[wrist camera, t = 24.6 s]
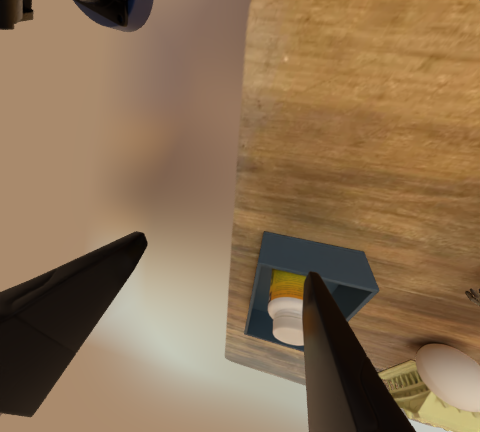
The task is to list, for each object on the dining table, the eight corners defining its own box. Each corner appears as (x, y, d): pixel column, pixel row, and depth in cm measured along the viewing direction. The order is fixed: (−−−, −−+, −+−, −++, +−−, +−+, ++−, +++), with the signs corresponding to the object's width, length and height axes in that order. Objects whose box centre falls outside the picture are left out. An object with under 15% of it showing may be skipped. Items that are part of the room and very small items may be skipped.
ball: (483, 345, 28) (535, 419, 22) (440, 358, 34) (473, 422, 27) (429, 329, 29) (465, 396, 23) (395, 345, 34) (417, 403, 28)
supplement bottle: (269, 248, 26) (258, 321, 18) (309, 244, 24) (317, 326, 16) (278, 272, 29) (272, 345, 21) (315, 271, 27) (324, 352, 19)
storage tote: (264, 231, 25) (257, 262, 21) (364, 251, 23) (379, 290, 19) (249, 306, 39) (243, 334, 34) (311, 323, 37) (314, 355, 32)
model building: (373, 374, 44) (384, 417, 39) (411, 359, 36) (433, 410, 30) (487, 410, 42) (517, 462, 36) (558, 403, 33) (612, 469, 28)
